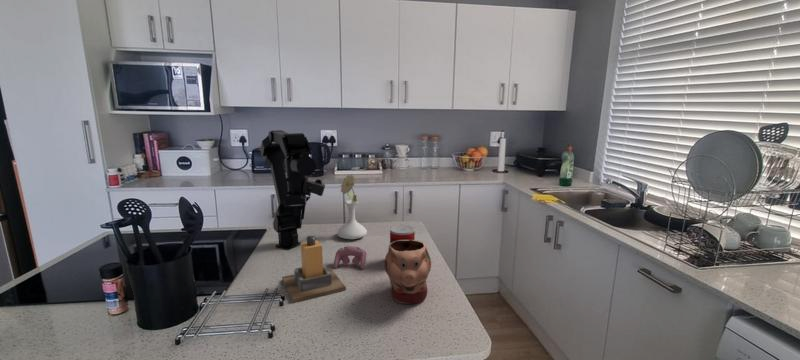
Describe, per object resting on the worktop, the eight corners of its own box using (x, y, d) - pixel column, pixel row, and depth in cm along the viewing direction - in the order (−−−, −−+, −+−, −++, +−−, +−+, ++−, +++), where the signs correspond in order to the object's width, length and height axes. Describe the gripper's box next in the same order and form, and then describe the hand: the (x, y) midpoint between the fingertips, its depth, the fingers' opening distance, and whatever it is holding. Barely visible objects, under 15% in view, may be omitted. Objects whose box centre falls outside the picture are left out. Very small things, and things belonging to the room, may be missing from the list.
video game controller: (366, 269, 114) (368, 247, 115) (364, 269, 109) (365, 245, 111) (335, 268, 114) (337, 246, 116) (332, 268, 110) (334, 244, 112)
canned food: (417, 258, 118) (417, 226, 116) (409, 268, 111) (410, 234, 109) (395, 255, 121) (395, 223, 119) (386, 264, 114) (386, 231, 111)
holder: (282, 280, 103) (281, 267, 102) (329, 270, 110) (329, 257, 109) (293, 303, 91) (292, 288, 90) (345, 290, 98) (345, 276, 97)
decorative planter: (381, 276, 105) (380, 231, 103) (422, 274, 107) (422, 229, 104) (389, 315, 86) (389, 260, 83) (439, 311, 88) (440, 257, 85)
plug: (302, 280, 101) (300, 236, 98) (318, 276, 103) (316, 233, 101) (306, 287, 97) (304, 241, 94) (323, 283, 99) (321, 238, 97)
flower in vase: (336, 232, 142) (334, 170, 137) (364, 230, 145) (363, 169, 140) (338, 244, 130) (336, 176, 125) (370, 242, 132) (369, 175, 128)
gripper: (320, 175, 105) (324, 227, 107) (324, 169, 123) (327, 214, 125) (280, 177, 103) (285, 230, 105) (290, 171, 121) (294, 217, 123)
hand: (300, 222), depth 115 cm, fingers open, 9 cm apart
